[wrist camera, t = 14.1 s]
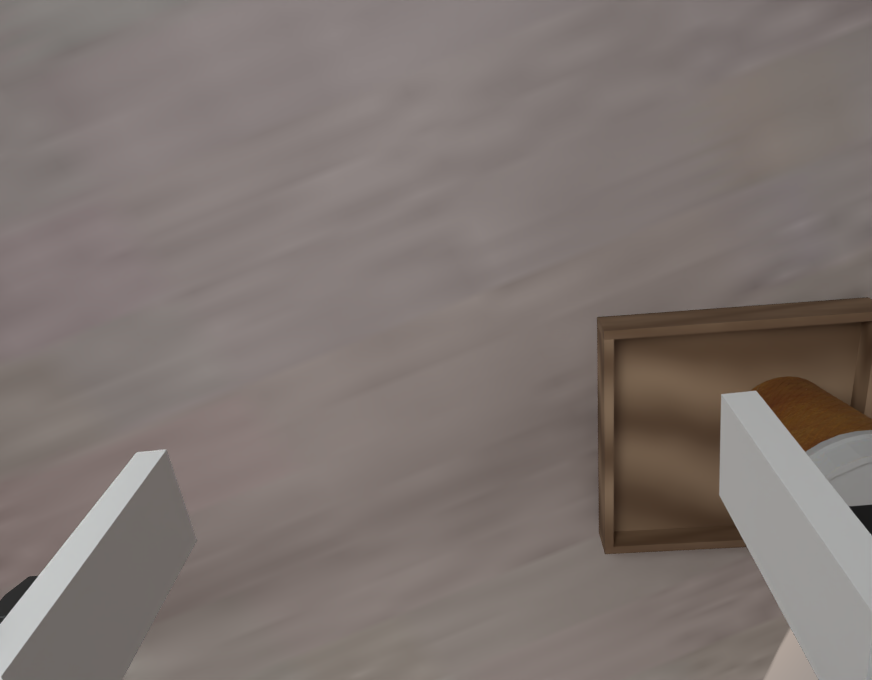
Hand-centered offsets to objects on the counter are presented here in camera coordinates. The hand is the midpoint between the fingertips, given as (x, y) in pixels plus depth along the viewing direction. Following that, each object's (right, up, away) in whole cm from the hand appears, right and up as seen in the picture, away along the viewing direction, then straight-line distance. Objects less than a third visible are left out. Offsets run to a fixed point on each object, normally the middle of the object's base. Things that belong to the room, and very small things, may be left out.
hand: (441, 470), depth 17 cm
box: (+20, -3, +32) cm, 38 cm away
